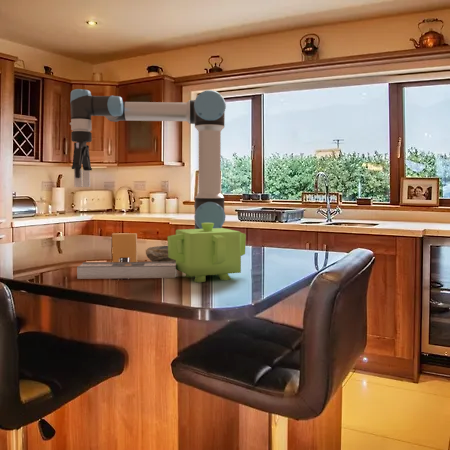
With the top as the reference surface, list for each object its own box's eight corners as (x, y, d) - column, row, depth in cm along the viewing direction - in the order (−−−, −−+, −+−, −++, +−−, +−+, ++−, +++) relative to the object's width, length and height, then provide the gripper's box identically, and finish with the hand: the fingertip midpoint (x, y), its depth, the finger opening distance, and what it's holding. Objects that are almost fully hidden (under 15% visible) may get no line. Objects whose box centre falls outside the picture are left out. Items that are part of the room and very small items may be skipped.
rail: (176, 273, 157) (176, 261, 157) (175, 277, 149) (175, 265, 149) (83, 274, 155) (82, 262, 155) (77, 278, 147) (77, 266, 147)
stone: (157, 258, 167) (150, 235, 172) (146, 274, 173) (140, 252, 178) (190, 258, 174) (183, 237, 180) (179, 274, 181) (172, 253, 186)
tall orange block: (137, 267, 167) (136, 233, 166) (136, 269, 164) (135, 234, 163) (114, 267, 167) (113, 233, 166) (112, 269, 164) (112, 234, 163)
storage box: (180, 287, 134) (180, 226, 133) (158, 274, 155) (158, 221, 154) (260, 281, 144) (260, 224, 143) (229, 269, 165) (229, 219, 164)
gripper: (79, 134, 196) (80, 186, 198) (62, 127, 171) (64, 186, 173) (97, 134, 196) (98, 186, 198) (83, 127, 172) (85, 186, 173)
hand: (82, 187), depth 186 cm, fingers open, 13 cm apart
